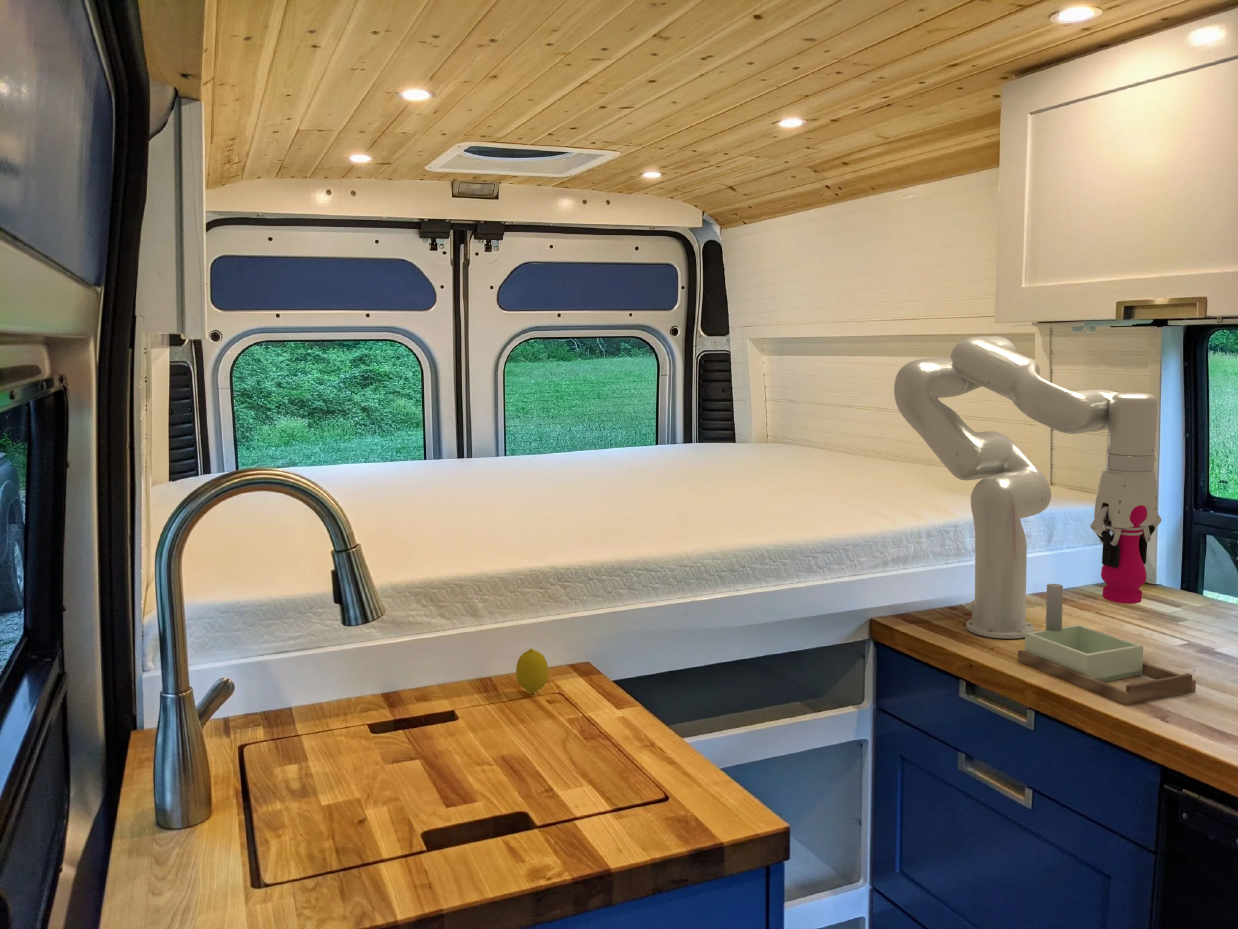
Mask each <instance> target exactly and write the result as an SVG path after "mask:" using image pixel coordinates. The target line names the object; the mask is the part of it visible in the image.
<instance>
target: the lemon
mask: <svg viewBox="0 0 1238 929" xmlns="http://www.w3.org/2000/svg"><path fill="white" fill-rule="evenodd" d="M515 668H516V669H515V670H516V671H515V675H516V679H517V683H518V684H519V686H520V687H521V688H522V689H523V690H525V691H528V692H529V693H531V692H532V693H534V692H536V691H537V692H538V691H539V690H541V689H542V688H543V687H544V686H545V685H546V684H547V682H548V678H549V665H548V662H547V659H546V657H545V655H543V653H541V652H539V651H538V650H535V649H533V648H530V649H529V648H528V650H527V651H525V652H523V653H522V654H521V655H520V656H519V657H518V660H517V663H516V667H515ZM537 692H536V693H537ZM532 693H531V694H532ZM534 694H535V693H534Z"/></svg>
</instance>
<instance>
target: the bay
mask: <svg viewBox="0 0 1238 929" xmlns="http://www.w3.org/2000/svg"><path fill="white" fill-rule="evenodd" d="M1017 661H1018V662H1020V663H1023V664H1024V665H1027V666H1029V667H1032V668H1034V669H1037V670H1039V671H1042V672H1044V673H1046V674H1048V675H1051V676H1054V677H1057V678H1058V679H1061V680H1064V681H1066V682H1069V683H1071V684H1074V685H1076V686H1078V687H1081V688H1084V689H1085V690H1088V691H1091V692H1093V693H1095V694H1098V695H1100V696H1103V697H1105V698H1107V699H1110V700H1112V701H1115V702H1117V703H1120V704H1121V705H1125V706H1129V705H1132V704H1138V703H1143V702H1149V701H1154V700H1159V699H1164V698H1168V697H1174V696H1178V695H1183V694H1188V693H1194V692H1196V688H1197V684H1196V682H1197V680H1196V679H1194V678H1193V674H1191V673H1182V674H1179V673H1176V672H1173V671H1171V670H1168V669H1166V668H1162V667H1160V666H1157V665H1155V664H1151V663H1148V662H1146V661H1143V670H1142V675H1143V676H1144V675H1145V676H1147V677H1150V678H1152V679H1151V680H1146V681H1141V682H1136V683H1130V684H1126V686H1125V690H1124V689H1121V688H1120V687H1119V688H1118V687H1116V686H1115V685H1114V686H1113V685H1112V684H1110V683H1109V684H1108V683H1106V682H1101V681H1099V680H1096V679H1094V678H1091V677H1088V676H1086V675H1083V674H1081V673H1078V672H1076V671H1073V670H1071V669H1068V668H1066V667H1063V666H1061V665H1058V664H1055V663H1053V662H1050V661H1048V660H1045V659H1043V658H1040V657H1038V656H1035V655H1033V654H1030V653H1027V652H1025V650H1021V649H1020V650H1017Z"/></svg>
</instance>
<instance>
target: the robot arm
mask: <svg viewBox="0 0 1238 929" xmlns="http://www.w3.org/2000/svg"><path fill="white" fill-rule="evenodd" d="M1040 371H1041V369H1040V366H1039V363H1038V362H1037V361H1036V360H1035V359H1033V358H1031V357H1028V356H1025V355H1023V354H1020V353H1018V351H1017V347H1016V346H1015V344H1014V343H1012V341H1010V340H1009V339H1007V338H1005V337H1004V336H1003V337H1002V336H997V335H991V336H987V335H986V336H971V337H967V338H964V339H963V340H961V341H959V342H958V343H957V344H956V345H955V346H954V347H953V348H952V351H951V354H950V356H947V357H930V358H920V359H919V358H918V359H915V360H912V361H909V362H907V363H906V364H904V365H903V366H901V367H900V369H899V370H898V372H897V373H896V376H895V380H894V383H893V386H894V387H893V395H894V401H895V403H896V406H897V409H898V410H899V413H900V414H901V416H902V417H903V418H904V419H905V421H906V422H907V423H908V425H910V427H911V428H913V430H915V431H916V433H918V434H919V436H920V437H921V438H922V439H923V440H924V442H925V443H926V444H927V446H928V447H929V448H930V450H932V452H933V453H934V454H935V456H936V457H937V458H938V459H939V460H940V462H941V463H942V464H943V465H944V466H945V467H946V469H947V470H948V471H949V472H950V474H952V475H953V476H954V477H955V478H956V479H958V480H961V481H976V480H979V481H978V482H977V483H976V484H975V486H974V487H973V489H972V491H971V495H970V509H971V514H972V520H973V526H974V541H975V542H974V554H975V555H974V599H973V600H972V601H971V602H970V603H967V604H966V605H965V607H964V610H966V611H968V612H971V618H970V619H968V620H967V621H966V622H965V623H966V630H968V631H969V632H971V633H973V634H975V635H978V636H981V637H986V638H991V639H1007V640H1011V639H1013V640H1014V639H1023V638H1024V639H1025V633H1028V632H1035V627H1034V625H1033V624H1032V623H1031V622H1029V621H1027V619H1026V618H1027V617H1026V614H1027V613H1026V612H1027V610H1026V609H1027V560H1028V556H1027V550H1028V549H1027V547H1028V546H1027V537H1026V534H1025V531H1024V528H1023V524H1022V519H1024V518H1029V517H1032V516H1036V515H1038V514H1040V513H1042V512H1044V511H1045V510H1046V509H1047V508H1048V507H1049V505H1050V503H1051V501H1052V500H1051V499H1052V490H1051V487H1050V484H1049V482H1048V480H1047V478H1046V477H1045V475H1044V474H1043V473H1042V472H1041V471H1040V469H1039V468H1038V467H1037V466H1036V465H1035V464H1034V462H1033V461H1032V460H1030V458H1029V457H1028V456H1027V455H1026V454H1025V453H1024V452H1023V451H1022V449H1021V448H1020V447H1019V446H1018V445H1017V444H1016V443H1015V442H1014V441H1013V440H1012V438H1010V437H1009V436H1007V435H1005V434H1003V433H1001V432H998V431H993V430H986V431H979V432H978V431H974V429H972V428H971V427H970V426H969V425H967V423H966V422H965V421H964V420H963V419H962V418H961V416H960V415H959V414H958V413H957V412H956V411H955V410H953V409H952V408H951V407H950V406H948V405H947V404H945V403H943V402H942V401H941V400H940V399H944V398H953V397H954V398H955V397H958V396H962V395H965V394H967V393H970V392H972V391H974V390H977V389H979V388H982V387H983V388H985V389H988V390H989V391H992V392H994V393H995V394H998V395H1000V396H1001V397H1004V398H1006V399H1008V400H1010V401H1011V402H1012V403H1013V405H1014V406H1015V407H1016V408H1017V409H1018V410H1019V411H1020V412H1021V413H1022V414H1024V415H1025V416H1026V417H1028V418H1030V419H1031V420H1033V421H1036V422H1037V423H1039V424H1042V425H1044V426H1046V427H1049V428H1050V429H1052V430H1054V431H1057V432H1059V433H1064V434H1069V435H1075V434H1082V433H1093V432H1099V431H1107V436H1106V437H1107V439H1106V454H1105V455H1106V459H1105V470H1102V472H1101V474H1100V477H1099V482H1098V486H1097V489H1096V490H1097V491H1096V496H1095V502H1094V512H1093V513H1094V516H1093V517H1094V519H1093V521H1092V522H1091V523H1090V526H1089V527H1090V529H1091V530H1092V531H1093V532H1094V533H1095V534H1096V536H1097V537H1098V538H1099V541H1100V543H1102V550H1101V551H1102V552H1101V553H1102V555H1101V565H1102V566H1103V565H1106V566H1110V567H1113V568H1117V567H1119V557H1120V546H1119V545H1117V543H1118V540H1119V537H1120V534H1121V531H1122V529H1127V528H1131V527H1134V525H1133V524H1132V523H1131V521H1130V515H1131V512H1132V510H1133V509H1134V508H1135V507H1137V506H1140V505H1143V506H1145V507H1146V509H1147V518H1146V520H1145V521H1144V522H1143V523H1142V524H1140V527H1143V529H1142V532H1143V534H1141V535H1140V538H1139V551H1140V556H1141V559H1142V561H1143V564H1144V565H1146V564H1147V554H1148V552H1147V551H1148V543H1149V542H1150V541H1151V536H1152V535H1153V534H1154V532H1155V530H1156V529H1157V527H1158V526H1159V525H1160V524H1161V523H1162V517H1161V515H1159V513H1158V485H1157V475H1156V471H1155V464H1156V463H1155V462H1156V461H1157V460H1156V447H1157V446H1156V445H1157V444H1156V443H1157V433H1158V432H1157V429H1158V417H1159V416H1158V413H1159V400H1158V398H1157V397H1156V396H1155V395H1153V394H1151V393H1147V392H1146V393H1145V392H1117V391H1113V390H1107V389H1102V388H1101V389H1100V388H1099V389H1098V388H1097V389H1083V390H1075V391H1072V390H1068V389H1066V388H1063V387H1062V386H1059V385H1057V384H1055V383H1052V382H1050V381H1048V380H1046V379H1044V378H1043V377H1041V376H1040V375H1041V374H1040V373H1041V372H1040ZM1111 530H1113V532H1112V535H1111Z"/></svg>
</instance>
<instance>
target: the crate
mask: <svg viewBox="0 0 1238 929" xmlns="http://www.w3.org/2000/svg"><path fill="white" fill-rule="evenodd" d="M1045 602H1046V603H1045V606H1046V610H1045V614H1046V615H1045V629H1043V630H1037V631H1036V630H1034V632H1028V633H1025V637H1024V639H1025V640H1024V651H1025V652H1027V653H1030V654H1033V655H1035V656H1038V657H1040V658H1043V659H1045V660H1048V661H1050V662H1053V663H1055V664H1058V665H1061V666H1063V667H1066V668H1068V669H1071V670H1073V671H1076V672H1078V673H1081V674H1083V675H1086V676H1088V677H1091V678H1094V679H1096V680H1099V681H1101V682H1104V683H1106V682H1111V681H1117V680H1120V679H1121V680H1122V679H1127V678H1133V677H1137V676H1142V675H1143V674H1142V670H1143V662H1144V646H1143V645H1142V644H1139V643H1135V642H1133V641H1130V640H1126V639H1123V638H1120V637H1117V636H1114V635H1112V634H1108V633H1105V632H1103V631H1099V630H1096V629H1093V628H1091V627H1087V626H1085V625H1081V624H1072V625H1067V626H1066V625H1065V626H1063V584H1060V583H1059V584H1057V583H1047V584H1046V600H1045Z"/></svg>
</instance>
